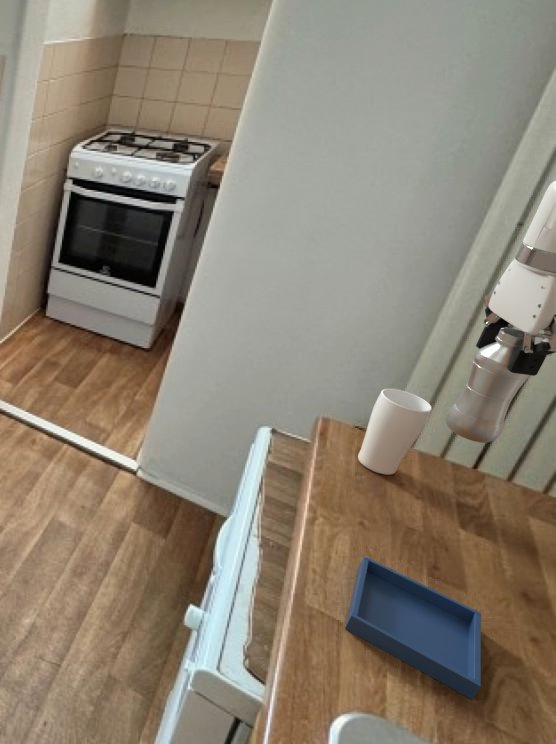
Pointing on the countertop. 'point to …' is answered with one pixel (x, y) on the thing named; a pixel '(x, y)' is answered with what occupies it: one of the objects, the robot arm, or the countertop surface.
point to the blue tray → (417, 626)
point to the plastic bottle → (488, 390)
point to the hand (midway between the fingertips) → (504, 360)
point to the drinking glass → (392, 429)
